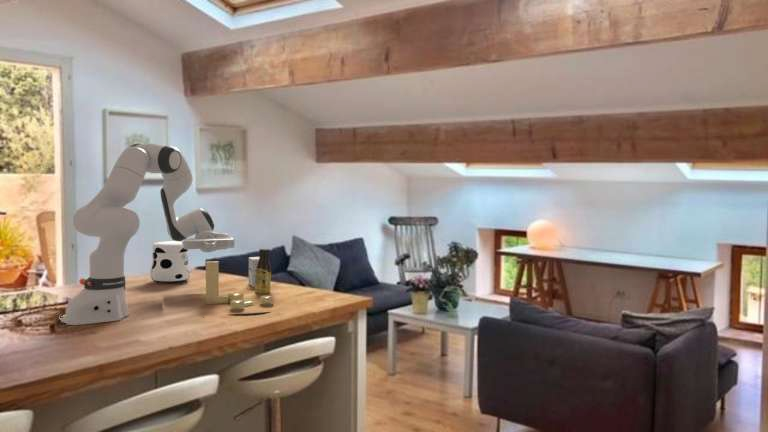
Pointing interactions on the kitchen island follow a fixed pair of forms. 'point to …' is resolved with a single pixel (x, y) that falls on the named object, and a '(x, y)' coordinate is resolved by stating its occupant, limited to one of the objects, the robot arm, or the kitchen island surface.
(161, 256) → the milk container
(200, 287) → the kitchen island surface
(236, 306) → the levelling plate
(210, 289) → the lever knob
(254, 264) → the supplement box
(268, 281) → the sauce bottle
